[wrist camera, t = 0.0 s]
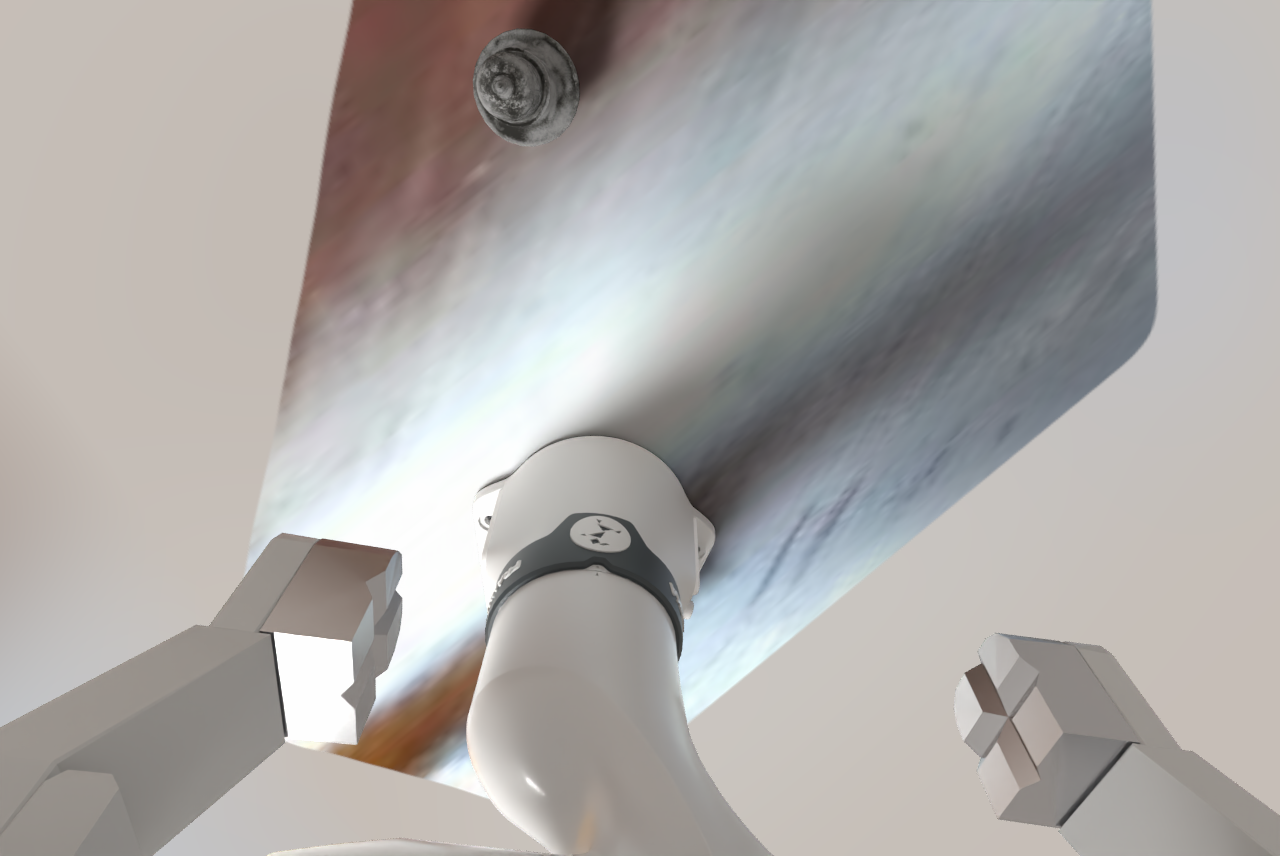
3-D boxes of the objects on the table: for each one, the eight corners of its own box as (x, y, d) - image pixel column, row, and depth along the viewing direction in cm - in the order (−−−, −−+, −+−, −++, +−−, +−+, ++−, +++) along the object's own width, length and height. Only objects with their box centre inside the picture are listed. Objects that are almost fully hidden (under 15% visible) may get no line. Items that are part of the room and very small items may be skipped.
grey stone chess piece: (576, 28, 40) (554, 1, 30) (589, 137, 43) (574, 150, 32) (476, 40, 41) (418, 17, 30) (495, 147, 43) (447, 163, 32)
